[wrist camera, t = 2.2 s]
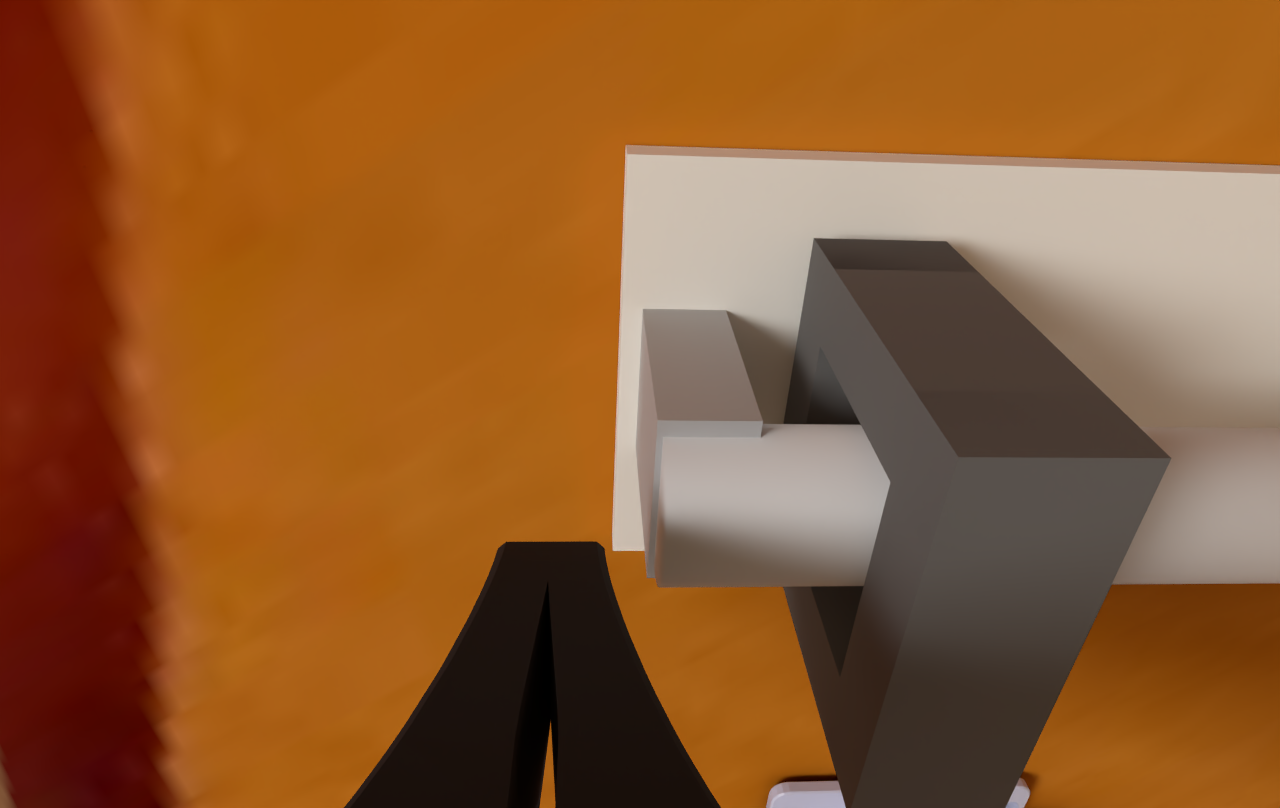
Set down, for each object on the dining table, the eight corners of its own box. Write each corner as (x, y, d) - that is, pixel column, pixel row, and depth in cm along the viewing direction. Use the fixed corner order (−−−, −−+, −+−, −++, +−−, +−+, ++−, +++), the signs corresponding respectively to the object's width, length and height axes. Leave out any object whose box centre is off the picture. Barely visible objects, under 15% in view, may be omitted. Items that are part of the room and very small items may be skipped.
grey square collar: (946, 241, 15) (1172, 458, 9) (873, 527, 18) (1003, 812, 12) (813, 238, 14) (958, 457, 9) (766, 527, 18) (848, 816, 12)
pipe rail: (1744, 180, 16) (2273, 311, 11) (1477, 531, 21) (1761, 735, 16) (625, 144, 15) (646, 278, 9) (612, 533, 19) (621, 760, 14)
